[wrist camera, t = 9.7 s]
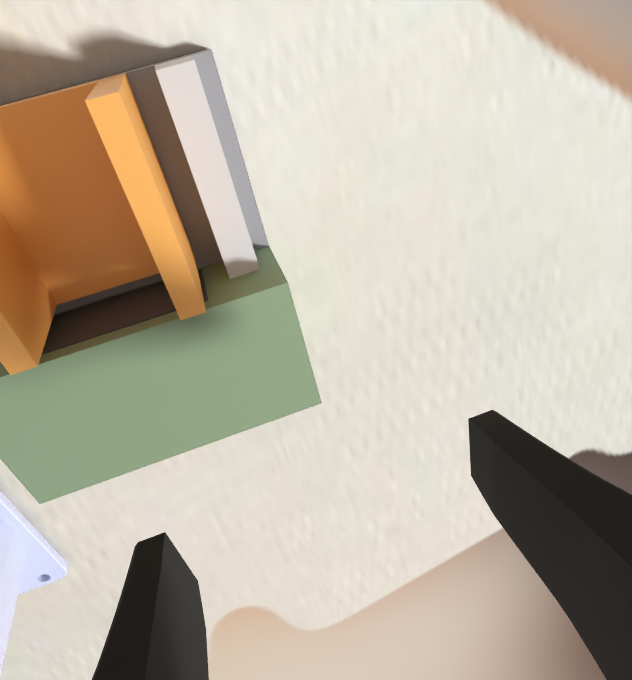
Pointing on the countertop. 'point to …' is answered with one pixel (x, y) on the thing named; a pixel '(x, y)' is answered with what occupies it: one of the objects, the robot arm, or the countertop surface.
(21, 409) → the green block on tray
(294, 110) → the countertop surface
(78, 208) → the chute
